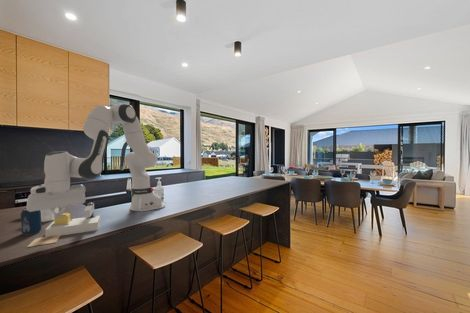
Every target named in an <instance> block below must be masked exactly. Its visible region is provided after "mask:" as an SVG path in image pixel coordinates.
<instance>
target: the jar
mask: <svg viewBox="0 0 470 313" xmlns="http://www.w3.org/2000/svg"><path fill="white" fill-rule="evenodd" d="M59 208H60V207H58V208H55V210H54V212H55V213H59V212H60V210H59ZM51 221H52V222H53V221H55V219H54V214H53V212H52V211H51V209H45V210H41V223H46V222H51Z"/></svg>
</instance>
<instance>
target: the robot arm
mask: <svg viewBox="0 0 470 313" xmlns="http://www.w3.org/2000/svg"><path fill="white" fill-rule="evenodd" d="M114 124H115V125H118V124H120V125H121V126H122V130H123V133H124V134H123V135H124V137H125V140H126V144H127V147H129V148H131V150H132V151H131V152H128V153H126V155H125V156H124V164H125V165H127V167H128V169H129V172H130V175H131V187H132V188H131V190H130V191H131V194H130V195H131V204H130V207H129V210H130V211H134V212H146V211H153V210H157V209H158V210H159V209H164V208H165V207H166V204H165V203H164V202H163V201H162V198H161V196H159V194H157V193H155V192H154V191H155V188H154V187H151V183H150V182H151V181H150V180H151V178H150V177H151V176H150V174H149V173H148V172H147V171H146V169H148V168H153V167H155V166H156V165H157V163H158V157H157V154H155V153H154V152H153V151H152V150H151V149H150V148H149V146H148V144H147V142H146V139H145V135H144V131H143V127H142V125H141V123H140V119H139V118H138V116H137V113H136V110H135V107H133V106H132V105H131V104H128V103H122V104H121V103H120V104H113V105H110V106H106V105H102V104H99V105H98V104H97V105H96V106H95V107H94V108H92V110H91V111H90V113H89V114H88V115H87V117H86V119H85V121H84V123H83V126H82V130H83V132H84V134H85V135H86V136H87V137H88V138H89V139H92V140H93V144H92V148H91V151H90V154H89V155H88V156H87V157H77V156H74V155H73V154H70V153H69V152H68V151H67V150H59V151H58V150H57V151H56V150H55V151H51V152H48V153H46V154H45V158H44V163H43V164H44V165H43V173H44V175H45V178H44V183H43V184H39V185H36V186H33V187H30V191H29V192H30V194H29V195H28V196H27V201H26V208H27V210H28V211H29V212H32V211H38V210H45V209H51V211H52V212H53V214H54V218H56V217H62V216H63V213H65V211H66V209H67V208H66V207H69V206H75V205H76V206H77V205H82V204H84V203H86V194H85V193H86V186H85V185H83V184H73V185H71V178H78V179H79V178H80V179H87V180H88V179H89V180H93V179H97V178H98V177H99V176H101V174H102V172H103V168H104V159H105V156H106V151H107V148H108V144H109V140H110V139H109V138H110V136H109V128H110V127H111V125H114ZM58 207H59V208H61V210H60V211H59V213H55V212H54V210H55V208H58Z"/></svg>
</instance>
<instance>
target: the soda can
mask: <svg viewBox="0 0 470 313" xmlns="http://www.w3.org/2000/svg"><path fill="white" fill-rule="evenodd" d="M20 226H21V227H20V228H21V229H20V230H21V231H20V232H21V234H22V235H24V236H30V235H35V234H38V233H39V232H40V231H41V230H42V222H41V210H38V211H32V212H29V211H28V210H27V207H25V208H23V209H22V210H21V212H20Z"/></svg>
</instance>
